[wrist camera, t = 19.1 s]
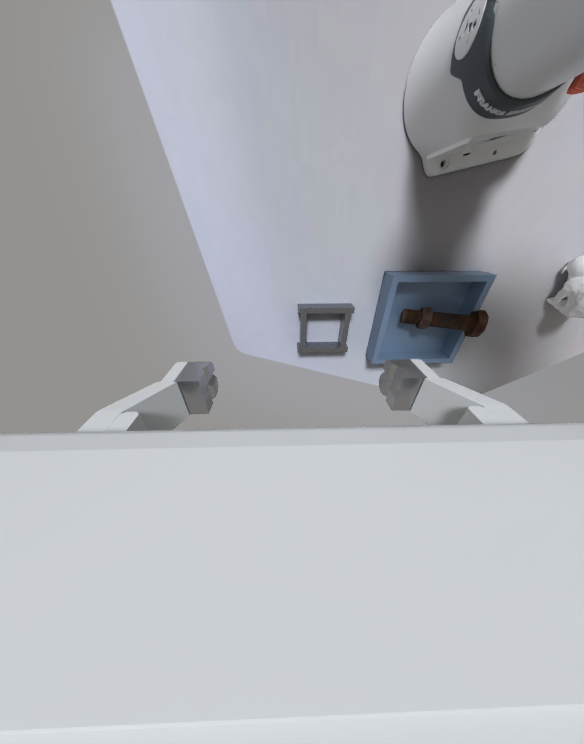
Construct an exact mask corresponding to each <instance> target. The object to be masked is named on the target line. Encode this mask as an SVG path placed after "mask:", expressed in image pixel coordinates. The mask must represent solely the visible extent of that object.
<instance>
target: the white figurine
mask: <svg viewBox="0 0 584 744" xmlns="http://www.w3.org/2000/svg"><path fill="white" fill-rule="evenodd" d="M561 270H562V269H561ZM561 270H560V271H561ZM564 270H568V280H567V281H566V282H565V284H564V286H563V288H562V289H561V290H560V291H559V292H558V293H557V295H556V296H555V297H552V298H548V299H547V302H548V303H550V304H551V305H553V307H554V308H556V309H557V310H559V311H560V313H562V314H564V315H565V316H567V317H568V318H570V317H577V318H584V255H582V256H579V257H577V258H575V259H574V260H572V261H569V262H568V264H567V265H566V266H565V267H564V268H563V271H562V273H563V272H564ZM560 271H559V272H560ZM565 297H567V301H565V300H562V299H563V298H565Z"/></svg>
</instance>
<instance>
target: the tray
mask: <svg viewBox="0 0 584 744" xmlns="http://www.w3.org/2000/svg"><path fill="white" fill-rule="evenodd" d="M495 277H496V275H495V274H491V273H486V272H482V271H385V272H384V277H383V281H382V286H381V290H380V294H379V299H378V303H377V307H376V312H375V316H374V320H373V325H372V329H371V334H370V338H369V342H368V347H367V351H366V356H367V358H368V359H369V361H370V363H371V364H384V362H385V361H386V360H398V359H421V360H422V361H423V362H424V363H452V361H453V359H454V358H455V356H456V354H457V352H458V350H459V348H460V346H461V344H462V342H463V340H464V338H465V336H464V331H459V330H455V329H454V330H453V329H447V328H438V327H428V328H427V329H418V328H416V326H415V325H414V324H413V325H412V324H406V323H405V324H404V323H401V322H400V317H401V314H402V311H403V310H404V309H411V310H412V309H413V310H420V309H421V308H423V307H431V308H432V309H433V312H442V313H451V314H452V313H453V314H463V315H464V314H468V315H470V313H471V312H474V311H478V310H479V309H480V307H481V305H482V303H483V301H484V299H485V297H486V295H487V293H488V291H489V289H490V287H491V285H492V283H493V281H494V279H495Z"/></svg>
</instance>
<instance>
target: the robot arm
mask: <svg viewBox="0 0 584 744" xmlns="http://www.w3.org/2000/svg"><path fill="white" fill-rule="evenodd" d="M582 92H584V0H457V1H456V2H454V3H453V4H452V5H451V6H450V7H449V8H448V9H447V10H446V11H445V12H444V13H443V14H442V15H441V16H440V17H439V18H438V19H437V21H436V22H435V23H434V24H433V26H432V27H431V29H430V30H429V31H428V33H427V35H426V36H425V38H424V40H423V41H422V43H421V45H420V47H419V49H418V51H417V53H416V56H415V58H414V61H413V63H412V66H411V69H410V72H409V76H408V80H407V84H406V90H405V97H404V121H405V127H406V131H407V134H408V137H409V139H410V141H411V143H412V145H413V146H414V147H415V149H416V150H417V151H418V152H419V154H420V156H421V157H422V162H423V167H424V171H425V173H426V175H427V176H429V177H433V176H437V175H441V174H445V173H449V172H453V171H457V170H461V169H466V168H470V167H474V166H478V165H482V164H486V163H490V162H494V161H498V160H502V159H506V158H510V157H514V156H516V155H519V154H521V153H523V152H524V151H525V150H526V149H527V148H528V147H529V146H530V145H531V143H532V142H533V141H534V140H535V139H536V137H537V136H538V134H539V133H540V132H541V130H542V129H543V127H544V126H546V125H547V124H548V123H549V122H550V121H551V120H552V119H553V118H554V117H555V116H556V115H557V114H558V113H559V112H560V110H561V109H562V108H563V106H564V105H565V104H566V102H567V101H568V99H569V97H570V96H571V94H577V93H582ZM441 162H443V166H442V167H441V166H440V164H441ZM383 369H384V371H385V372H383V373H382V374H381V375H380V379H379V388H380V391H381V393H382V394H383V395H385V396H386V397H387V398H386V401H387V403H388V405H389V406H390V408H391V410H410V412H412V413H413V414H414V415H416V416H417V417H418V418H420V419H421V420H422V421H424V422H425V423H426V424H428V425H421V426H420V425H419V426H370V427H369V426H366V427H316V428H265V429H264V428H261V429H209V430H208V429H207V430H173V429H174V428H175V427H177V426H178V425H179V424H180V423H181V422H182V421H184V420H185V419H186V418H187V417H188V416H189V414H208V413H209V411H210V409H211V407H212V404H213V401H212V399H213V398H214V397H216V394H217V392H218V381H217V377H215V376H214V375H213V372H214V370H215V369H214V366H213V363H212V362H177V363H176V364H175V365H174V366H173V367H172V369H171V370H170V371H169V372H168V374H167V375H166V376H165V377H164V379H163V380H162V381H161V382H156V383H154V384H152V385H150V386H148V387H146V388H144V389H142V390H140V391H138V392H136V393H134V394H132V395H130V396H128V397H126V398H124V399H122V400H120V401H118V402H116V403H113V404H111V405H109V406H108V407H105V408H103V409H101V410H99V411H97V412H96V413H95V414H94V415H93V416H92V417H91V418H90V419H89V420H88V421H87V422H86V423H85V424H84V425H83V426H82V427H81V428H80V429H79V430H78V431H77V432H46V433H0V744H584V422H578V423H577V422H576V423H531V424H530V423H528V422H527V421H526V420H525V419H524V418H522V417H521V416H520V415H519V414H517V413H516V412H515V411H514V410H513V409H511V408H510V407H509V406H508V405H506V404H504V403H501V402H499V401H497V400H494V399H492V398H489V397H487V396H485V395H482V394H480V393H478V392H475V391H473V390H471V389H468V388H466V387H464V386H461V385H459V384H457V383H454V382H452V381H449V380H447V379H445V378H440V377H439V376H438V375H437V374H436V373H434V372H433V371H432V370H431V369H430V368H429V367H428V366H427V365H426V364H425V363H424V362H423V361H422V360H421V359H398V360H386V361H385V362H384V365H383Z"/></svg>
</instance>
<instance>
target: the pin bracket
mask: <svg viewBox="0 0 584 744" xmlns="http://www.w3.org/2000/svg"><path fill="white" fill-rule="evenodd" d="M354 309H355V308H354V306H353V305H352V304H298V314H300V342H298V343H297V349H298V353H308V352H347V350H348V347H347V345H346V341H347V335H348V328H349V322H350V316H351V313H354ZM328 313H342V315H341V323H340V330H339V337H338V342H306V321H307V314H328Z"/></svg>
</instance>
